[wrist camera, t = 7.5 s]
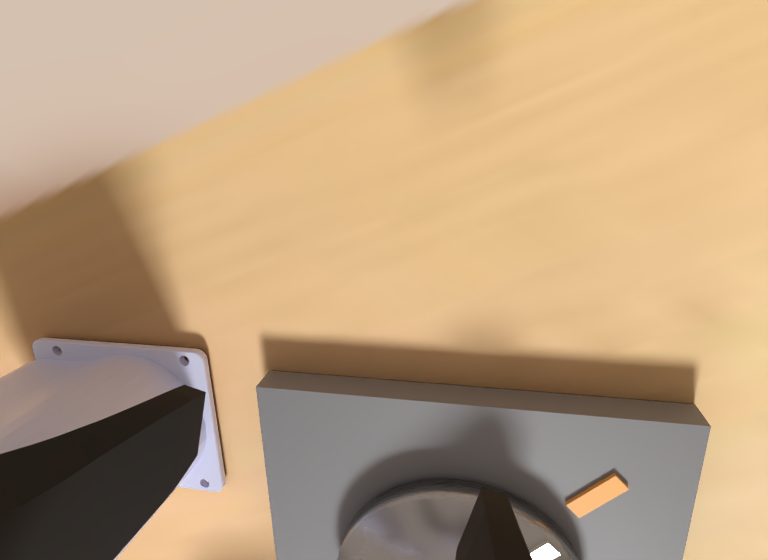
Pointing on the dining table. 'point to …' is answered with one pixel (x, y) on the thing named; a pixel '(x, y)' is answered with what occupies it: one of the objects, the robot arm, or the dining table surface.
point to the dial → (440, 524)
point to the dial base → (479, 458)
